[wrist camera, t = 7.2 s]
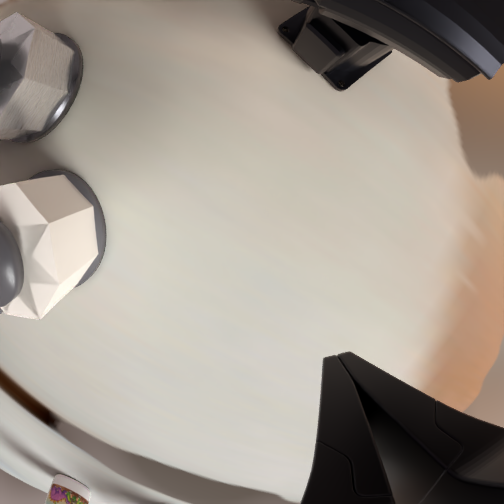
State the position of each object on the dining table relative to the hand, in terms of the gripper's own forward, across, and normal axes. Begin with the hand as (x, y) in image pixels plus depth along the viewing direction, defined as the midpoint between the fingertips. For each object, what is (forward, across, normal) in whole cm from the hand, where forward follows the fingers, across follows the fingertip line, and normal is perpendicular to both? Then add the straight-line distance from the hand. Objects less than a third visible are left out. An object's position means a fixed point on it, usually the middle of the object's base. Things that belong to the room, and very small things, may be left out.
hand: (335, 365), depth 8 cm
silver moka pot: (+13, +17, -16) cm, 27 cm away
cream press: (+13, +17, -4) cm, 22 cm away
